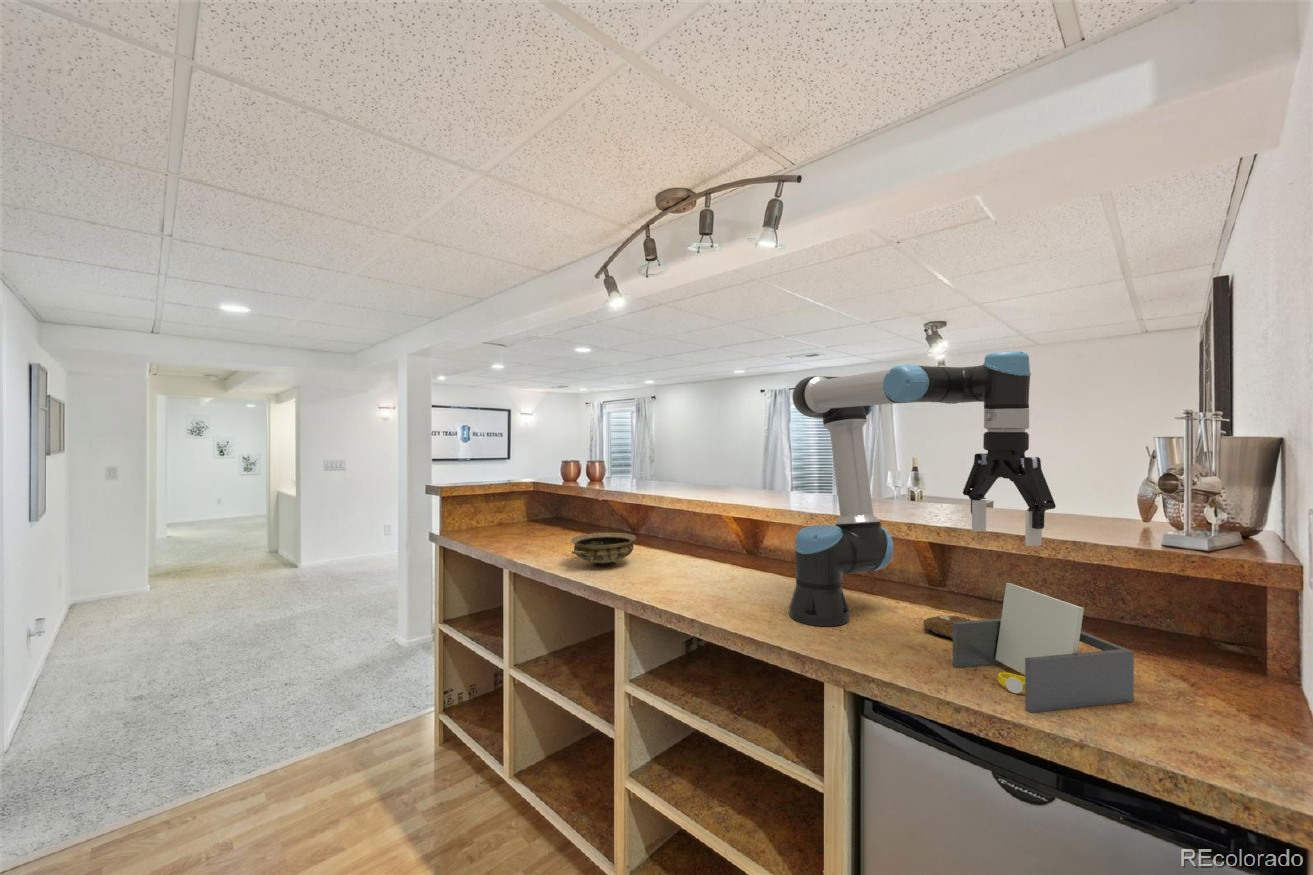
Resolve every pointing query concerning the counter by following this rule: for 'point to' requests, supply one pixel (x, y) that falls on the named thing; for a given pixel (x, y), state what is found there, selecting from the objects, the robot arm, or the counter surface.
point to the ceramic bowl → (603, 547)
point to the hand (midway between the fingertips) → (1004, 538)
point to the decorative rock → (943, 624)
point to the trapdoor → (1036, 627)
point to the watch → (1012, 682)
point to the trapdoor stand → (1054, 669)
